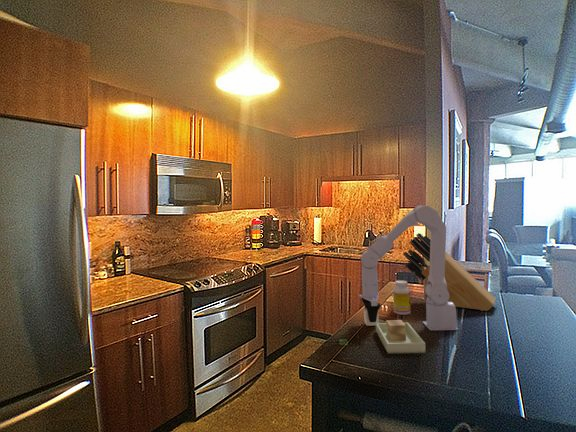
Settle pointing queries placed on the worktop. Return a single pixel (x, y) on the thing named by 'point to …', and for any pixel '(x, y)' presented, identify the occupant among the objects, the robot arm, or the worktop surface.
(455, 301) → the knife block
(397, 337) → the oak block
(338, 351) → the worktop surface
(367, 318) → the cream box
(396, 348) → the tote tray
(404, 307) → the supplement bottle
